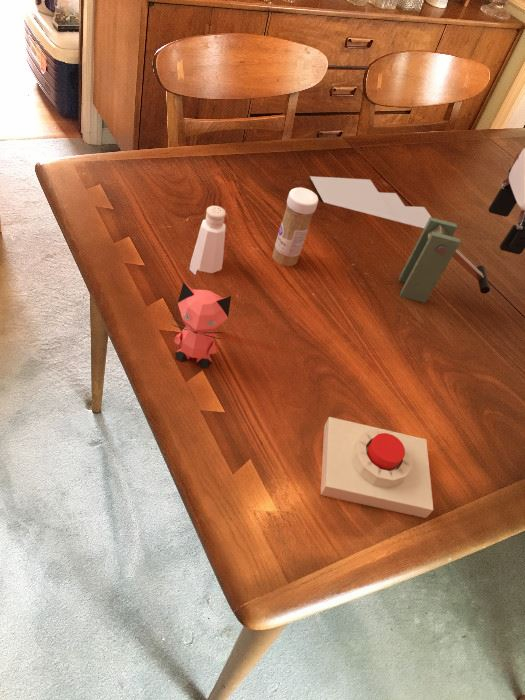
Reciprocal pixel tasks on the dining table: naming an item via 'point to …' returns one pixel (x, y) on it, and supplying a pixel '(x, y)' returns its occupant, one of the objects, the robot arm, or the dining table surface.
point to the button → (386, 451)
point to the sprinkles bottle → (294, 226)
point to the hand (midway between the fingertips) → (503, 231)
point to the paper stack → (368, 200)
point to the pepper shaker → (210, 242)
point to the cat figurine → (200, 323)
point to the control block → (374, 470)
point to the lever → (468, 264)
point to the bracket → (428, 260)
